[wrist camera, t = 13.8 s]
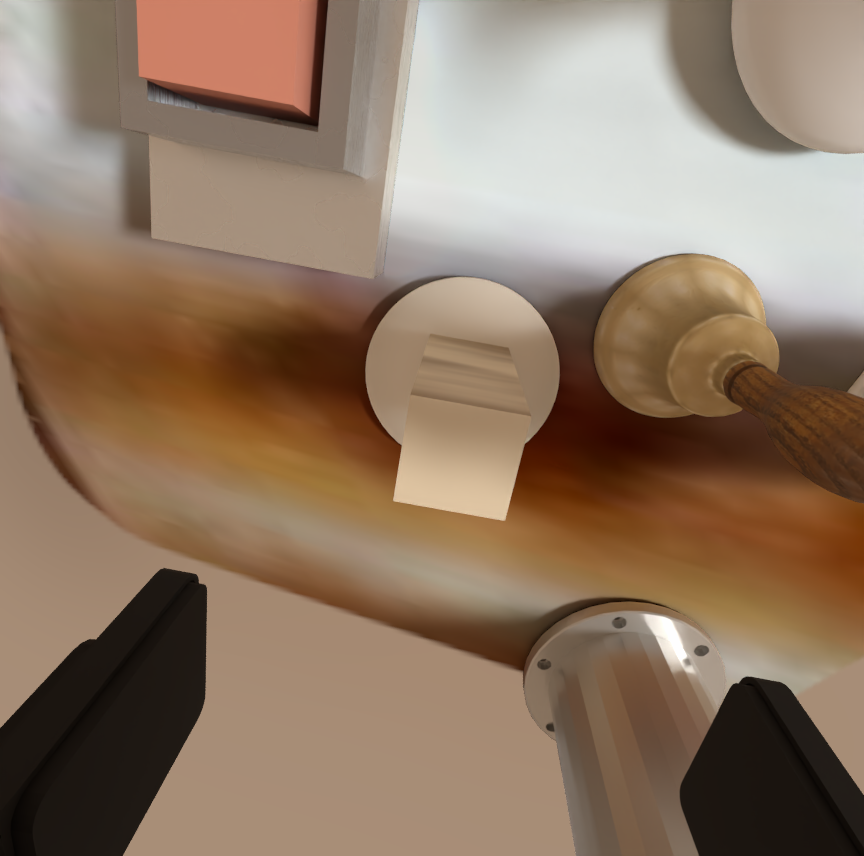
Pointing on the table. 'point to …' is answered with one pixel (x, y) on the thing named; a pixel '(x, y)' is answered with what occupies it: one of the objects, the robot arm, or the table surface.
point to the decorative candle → (858, 386)
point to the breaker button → (237, 53)
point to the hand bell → (722, 366)
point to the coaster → (464, 319)
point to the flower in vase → (804, 68)
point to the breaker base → (283, 150)
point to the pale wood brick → (463, 429)
